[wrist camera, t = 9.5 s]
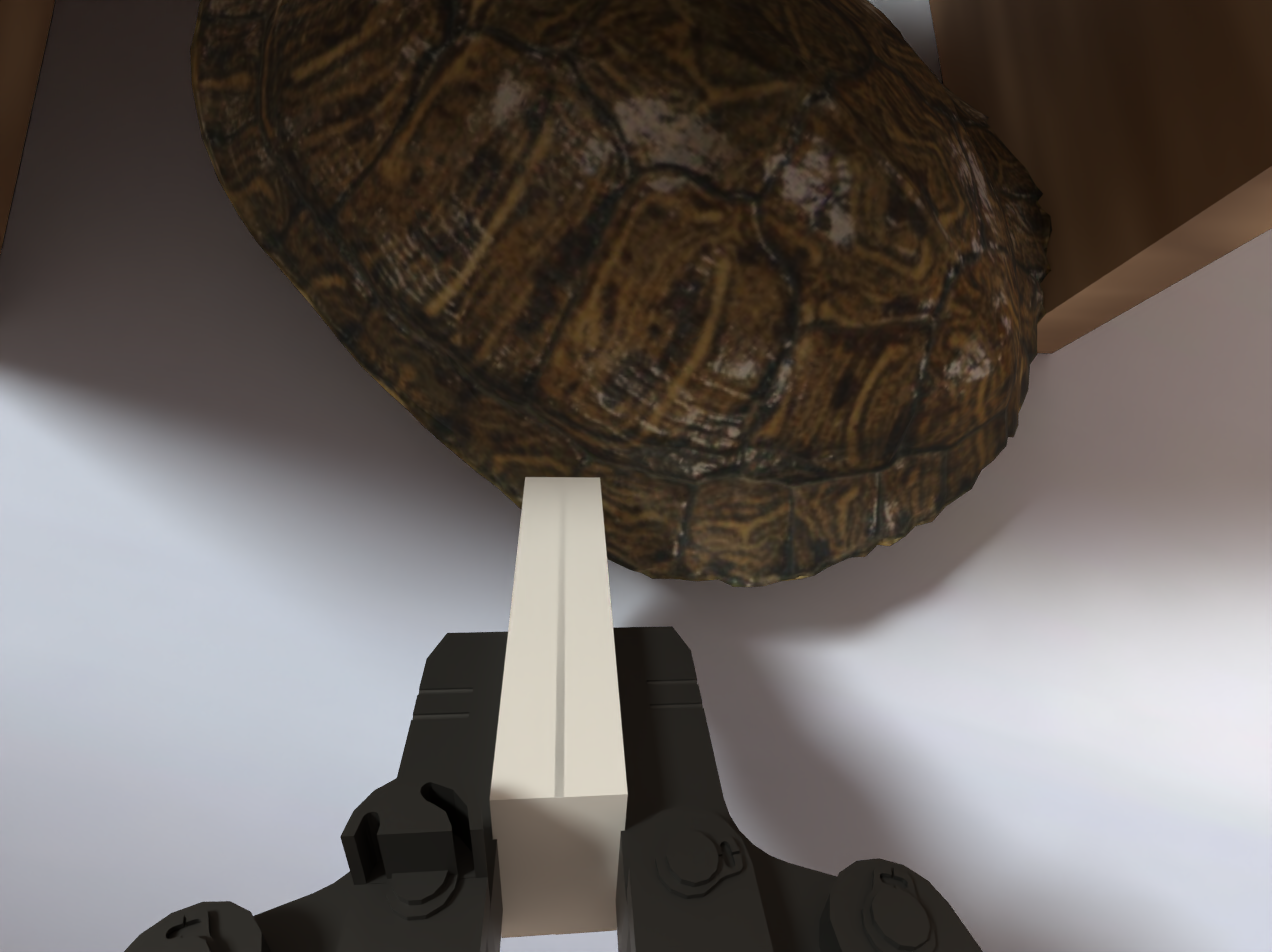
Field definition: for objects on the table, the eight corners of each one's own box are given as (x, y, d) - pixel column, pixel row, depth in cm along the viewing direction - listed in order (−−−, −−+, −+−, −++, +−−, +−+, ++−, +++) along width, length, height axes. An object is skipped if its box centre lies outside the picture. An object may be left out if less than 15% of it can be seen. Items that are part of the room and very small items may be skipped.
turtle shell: (936, 807, 10) (-277, -173, 8) (720, 685, 19) (119, 208, 16) (1309, 135, 14) (588, -682, 11) (986, 290, 23) (535, -151, 20)
